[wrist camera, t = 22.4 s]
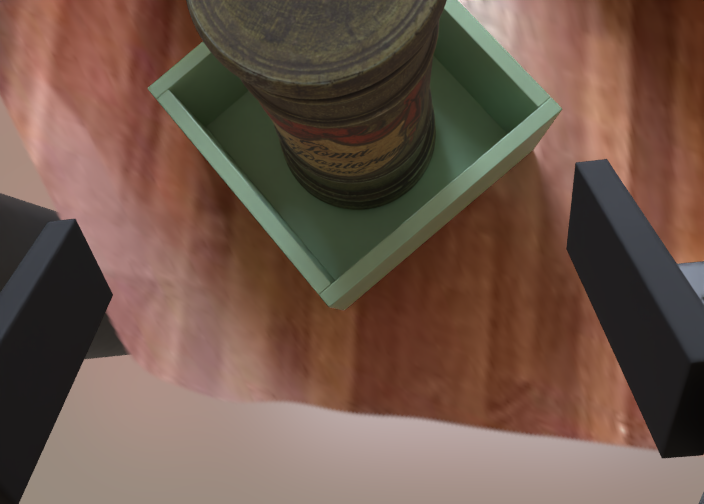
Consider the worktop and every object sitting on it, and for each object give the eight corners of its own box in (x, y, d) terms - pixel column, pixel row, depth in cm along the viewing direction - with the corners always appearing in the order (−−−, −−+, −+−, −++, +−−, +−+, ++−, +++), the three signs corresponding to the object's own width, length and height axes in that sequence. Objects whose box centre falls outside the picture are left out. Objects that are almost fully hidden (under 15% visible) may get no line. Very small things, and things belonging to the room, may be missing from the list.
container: (281, 68, 37) (166, -169, 19) (431, 59, 36) (455, -198, 19) (283, 215, 36) (164, 106, 18) (438, 208, 35) (470, 87, 17)
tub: (192, 130, 38) (146, 87, 31) (372, -22, 38) (365, -97, 31) (343, 311, 36) (329, 307, 29) (533, 149, 36) (562, 108, 29)
